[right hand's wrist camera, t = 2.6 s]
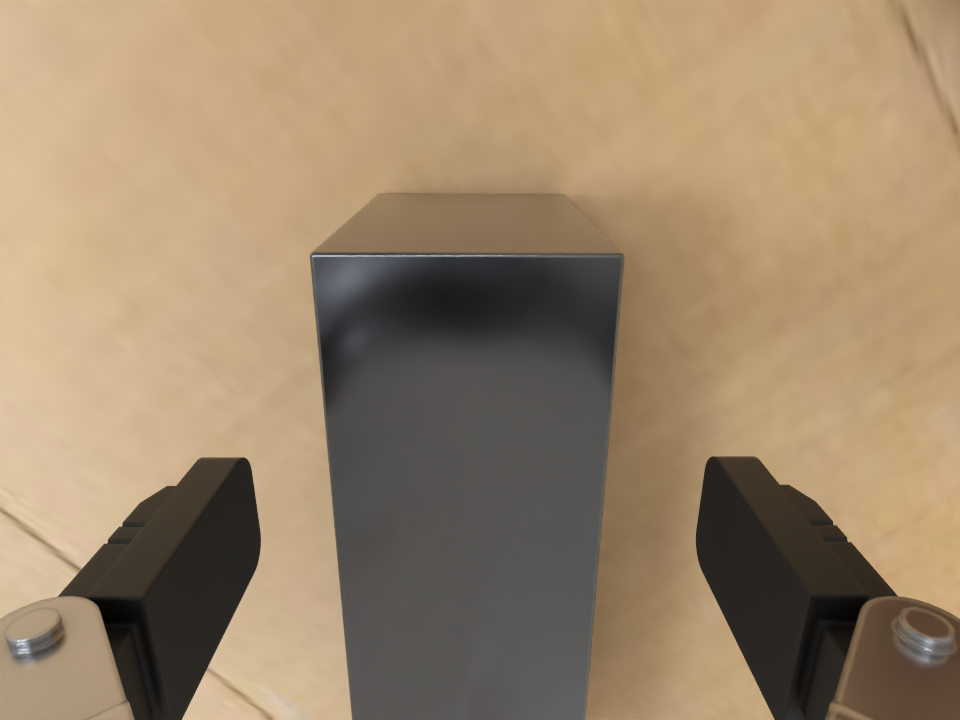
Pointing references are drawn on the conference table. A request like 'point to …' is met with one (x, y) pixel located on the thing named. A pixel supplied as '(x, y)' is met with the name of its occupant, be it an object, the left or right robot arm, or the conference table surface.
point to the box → (467, 449)
